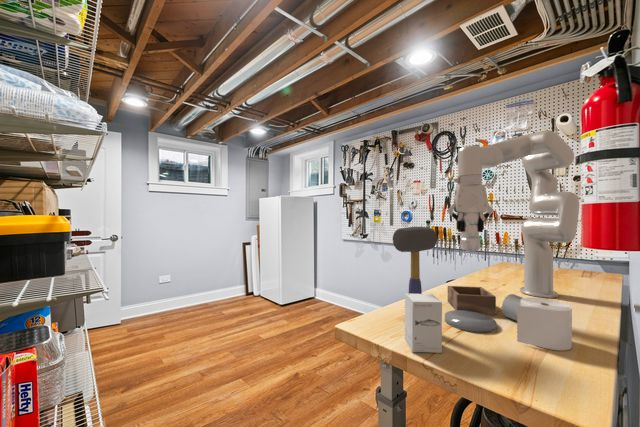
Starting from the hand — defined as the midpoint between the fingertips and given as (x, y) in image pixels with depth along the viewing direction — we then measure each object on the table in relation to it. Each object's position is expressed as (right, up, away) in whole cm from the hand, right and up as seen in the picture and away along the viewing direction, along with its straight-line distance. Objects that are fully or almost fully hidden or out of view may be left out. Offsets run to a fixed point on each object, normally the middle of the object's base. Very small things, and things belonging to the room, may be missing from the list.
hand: (470, 231), depth 99 cm
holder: (0, -27, 0) cm, 27 cm away
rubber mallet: (-25, -28, -17) cm, 41 cm away
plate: (-8, -27, -14) cm, 32 cm away
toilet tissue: (+5, -28, -26) cm, 38 cm away
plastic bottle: (0, -7, 0) cm, 7 cm away
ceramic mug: (+10, -28, -12) cm, 32 cm away
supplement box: (-28, -28, -28) cm, 48 cm away
